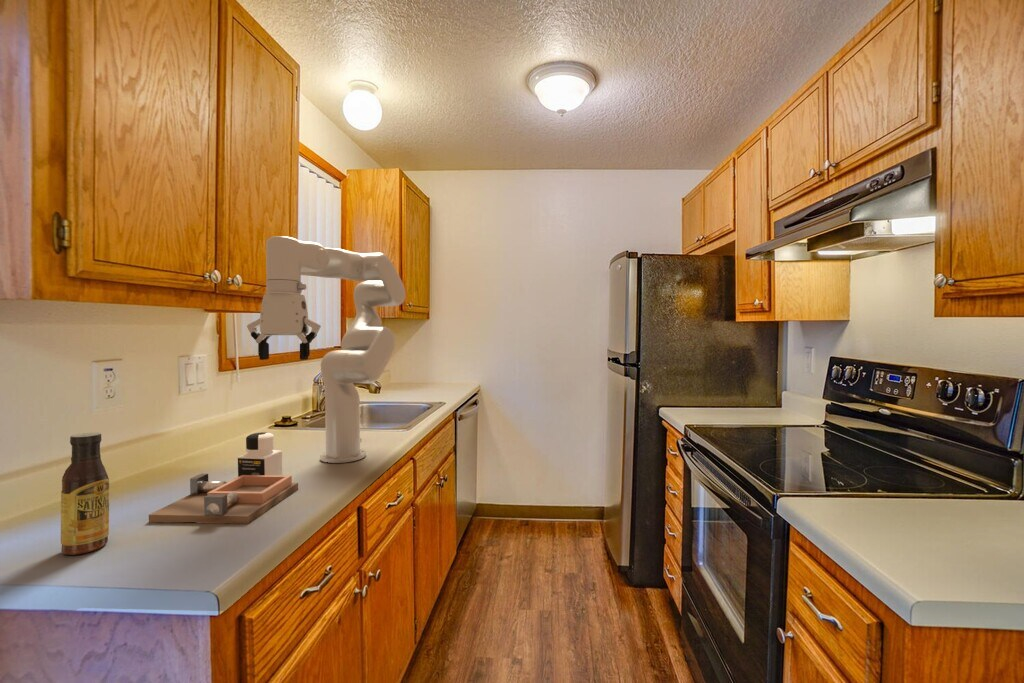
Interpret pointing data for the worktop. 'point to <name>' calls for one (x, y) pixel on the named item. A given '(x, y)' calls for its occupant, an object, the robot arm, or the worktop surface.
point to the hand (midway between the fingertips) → (284, 359)
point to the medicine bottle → (260, 456)
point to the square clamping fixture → (227, 499)
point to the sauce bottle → (84, 497)
